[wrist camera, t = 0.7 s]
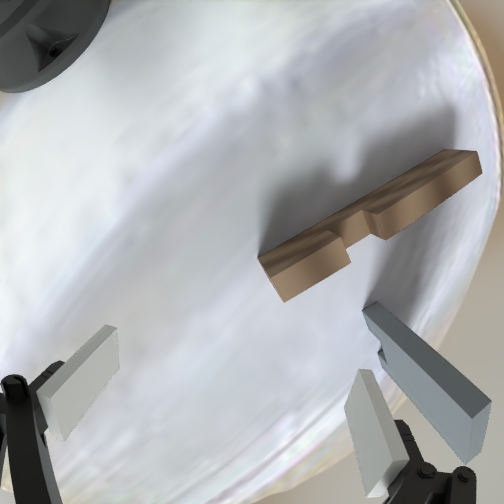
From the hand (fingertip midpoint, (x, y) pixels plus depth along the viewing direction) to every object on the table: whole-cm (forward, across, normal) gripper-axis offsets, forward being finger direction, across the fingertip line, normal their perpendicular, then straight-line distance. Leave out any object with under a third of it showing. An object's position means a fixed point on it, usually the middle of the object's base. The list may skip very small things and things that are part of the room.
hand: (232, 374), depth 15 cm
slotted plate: (+18, +16, -5) cm, 24 cm away
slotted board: (+16, +10, +9) cm, 21 cm away
